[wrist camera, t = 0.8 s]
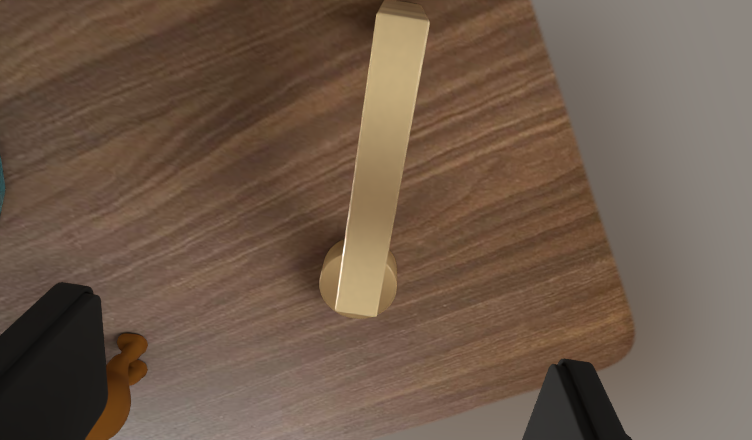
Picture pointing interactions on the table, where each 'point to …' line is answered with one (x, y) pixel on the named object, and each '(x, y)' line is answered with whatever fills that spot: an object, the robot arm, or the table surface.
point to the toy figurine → (120, 385)
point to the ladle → (378, 166)
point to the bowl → (1, 186)
